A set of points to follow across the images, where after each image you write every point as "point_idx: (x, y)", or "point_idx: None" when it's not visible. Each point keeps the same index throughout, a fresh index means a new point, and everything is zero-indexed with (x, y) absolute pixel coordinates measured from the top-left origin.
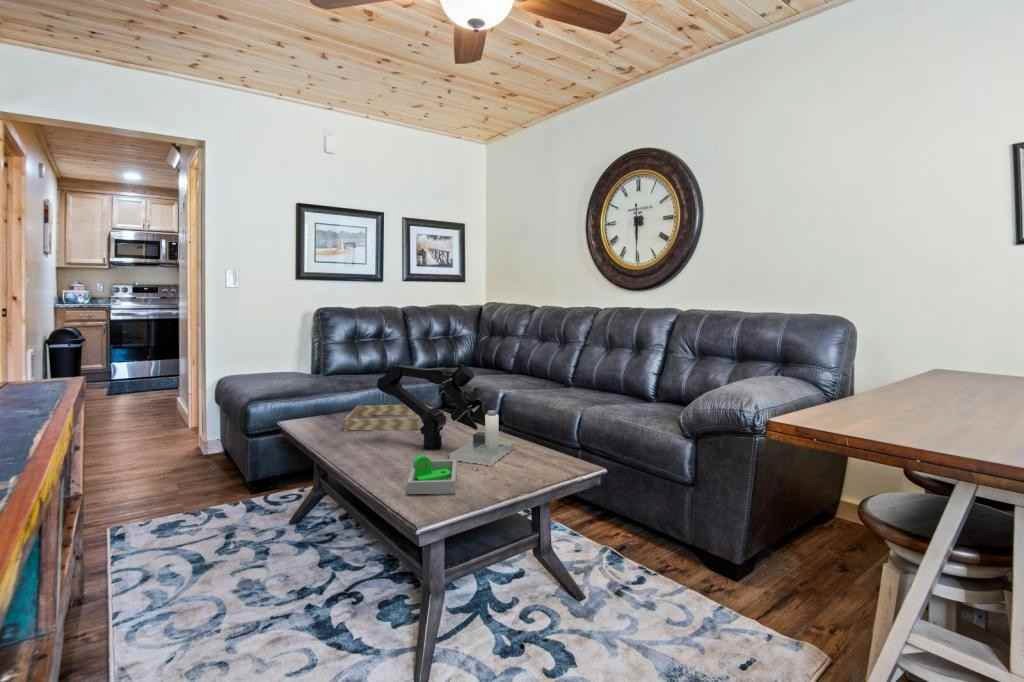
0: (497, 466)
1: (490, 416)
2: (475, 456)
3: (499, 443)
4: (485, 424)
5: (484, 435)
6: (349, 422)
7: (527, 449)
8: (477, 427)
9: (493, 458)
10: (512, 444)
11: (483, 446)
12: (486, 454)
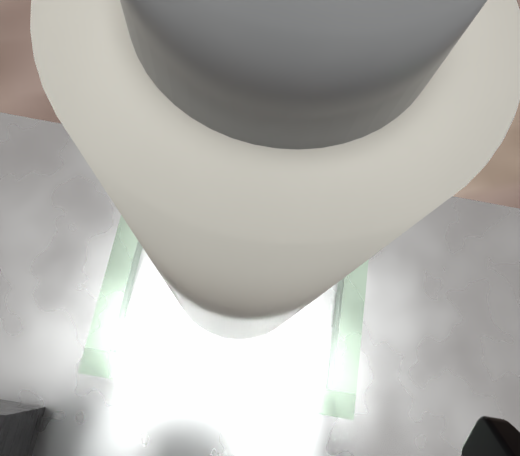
0: (474, 181)
1: (490, 13)
2: (508, 367)
3: (30, 241)
4: (344, 275)
5: None
6: None
7: (19, 43)
8: (504, 426)
9: (464, 203)
10: (35, 121)
11: (215, 369)
12: (416, 279)
